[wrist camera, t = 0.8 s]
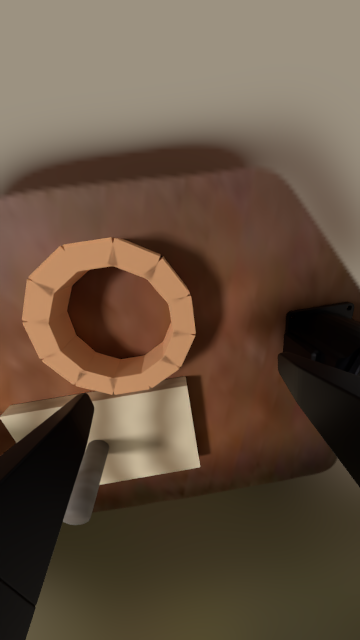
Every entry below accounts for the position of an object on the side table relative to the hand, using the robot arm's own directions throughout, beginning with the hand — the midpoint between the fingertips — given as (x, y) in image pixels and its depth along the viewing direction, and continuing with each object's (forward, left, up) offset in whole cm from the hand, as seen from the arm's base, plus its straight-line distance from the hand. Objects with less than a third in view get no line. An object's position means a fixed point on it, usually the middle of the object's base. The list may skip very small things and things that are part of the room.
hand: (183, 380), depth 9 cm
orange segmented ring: (+5, -1, -10) cm, 11 cm away
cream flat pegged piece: (+9, +14, -10) cm, 20 cm away
